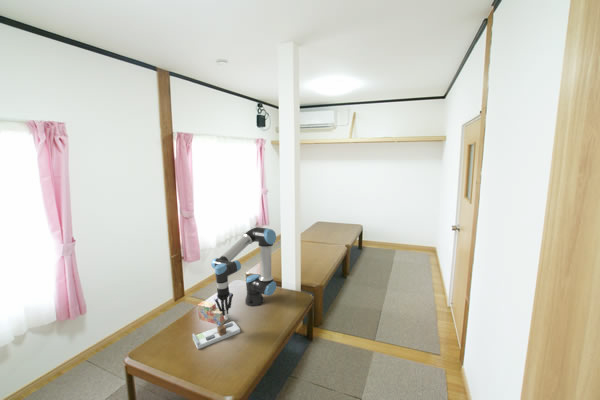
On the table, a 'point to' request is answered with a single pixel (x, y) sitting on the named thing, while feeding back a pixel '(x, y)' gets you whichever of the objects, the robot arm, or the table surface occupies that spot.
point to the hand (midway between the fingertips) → (225, 318)
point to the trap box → (214, 335)
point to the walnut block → (221, 330)
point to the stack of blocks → (210, 313)
